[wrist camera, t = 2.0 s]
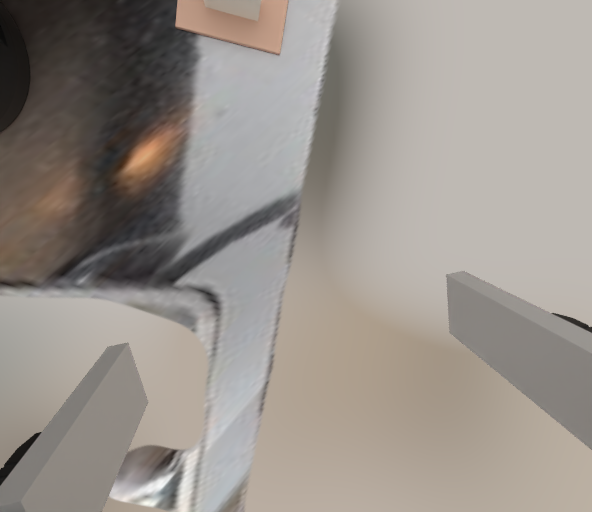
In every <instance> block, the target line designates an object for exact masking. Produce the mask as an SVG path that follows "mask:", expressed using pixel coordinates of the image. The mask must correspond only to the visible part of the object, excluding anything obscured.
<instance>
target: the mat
mask: <svg viewBox="0 0 592 512" xmlns="http://www.w3.org/2000/svg"><path fill="white" fill-rule="evenodd" d="M287 5H288V0H261V6H260V12H259V19H258V21H254V20H250V19H247V18H243V17H240V16H236V15H232V14H229V13H225V12H221V11H218V10H214V9H210V8H207V7H205V4H204V0H178V3H177V14H176V25H175V26H176V28H177V29H181V30H185V31H189V32H193V33H196V34H200V35H204V36H208V37H212V38H216V39H220V40H223V41H227V42H231V43H235V44H239V45H243V46H247V47H251V48H254V49H258V50H262V51H266V52H270V53H274V54H278V55H279V54H280V49H281V43H282V37H283V30H284V24H285V18H286V11H287Z"/></svg>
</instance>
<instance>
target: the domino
mask: <svg viewBox="0 0 592 512" xmlns="http://www.w3.org/2000/svg"><path fill="white" fill-rule="evenodd" d="M204 4H205V7H207V8H210V9H214V10H218V11H221V12H225V13H229V14H232V15H236V16H240V17H243V18H247V19H250V20H254V21H258V19H259V12H260V6H261V0H204Z"/></svg>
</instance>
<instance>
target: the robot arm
mask: <svg viewBox="0 0 592 512" xmlns="http://www.w3.org/2000/svg"><path fill="white" fill-rule="evenodd" d="M29 79H30V70H29V61H28V55H27V51H26V48H25V44H24V41H23V39H22V36H21V34H20V32H19V29H18V28H17V26H16V24H15V22H14V20H13V19H12V17H11V15H10V14H9V12H8V11H7V10H6V8H5V7H4V6H3V4H2V3H1V2H0V132H1V131H2V130H4V129H5V128H6V127H7V126H8V125H9V124H10V123H12V121H13V120H14V119H15V118H16V117H17V115H18V114H19V112H20V110H21V109H22V107H23V105H24V102H25V100H26V97H27V93H28V88H29ZM446 277H447V295H448V313H449V330H450V331H449V332H450V334H452V335H453V336H454V337H455V338H456V339H458V340H459V341H460V342H461V343H462V344H464V345H465V346H466V347H467V348H469V349H470V350H471V351H472V352H473V353H475V354H476V355H477V356H478V357H479V358H481V359H482V360H483V361H484V362H486V363H487V364H488V365H489V366H490V367H492V368H493V369H494V370H495V371H496V372H498V373H499V374H500V375H501V376H503V377H504V378H505V379H506V380H508V381H509V382H510V383H511V384H512V385H513V386H515V387H516V388H517V389H518V390H520V391H521V392H522V393H523V394H524V395H526V396H527V397H528V398H529V399H531V400H532V401H533V402H534V403H535V404H536V405H538V406H539V407H540V408H541V409H543V410H544V411H545V412H546V413H548V414H549V415H550V416H551V417H552V418H554V419H555V420H556V421H557V422H558V423H560V424H561V425H562V426H564V428H566V429H567V430H568V431H569V432H571V433H572V434H573V435H574V436H575V437H577V438H578V439H579V440H580V441H581V442H583V443H584V444H585V445H587V446H588V447H589V448H590V449H591V450H592V327H589V326H588V325H586V324H584V323H582V322H580V321H578V320H576V319H573V318H570V317H567V316H563V315H559V314H555V313H549V312H547V311H545V310H543V309H541V308H539V307H537V306H535V305H533V304H531V303H529V302H527V301H524V300H522V299H520V298H518V297H516V296H514V295H512V294H510V293H508V292H506V291H504V290H502V289H500V288H498V287H496V286H494V285H492V284H490V283H487V282H485V281H483V280H481V279H479V278H477V277H475V276H473V275H471V274H469V273H467V272H465V271H461V272H456V273H452V274H447V275H446ZM147 404H148V400H147V397H146V394H145V391H144V388H143V385H142V382H141V379H140V376H139V373H138V371H137V367H136V364H135V362H134V359H133V356H132V353H131V350H130V347H129V344H128V343H124V344H120V345H115V346H110V347H107V349H106V350H105V352H104V353H103V354H102V355H101V357H100V358H99V359H98V361H97V362H96V363H95V364H94V366H93V367H92V368H91V369H90V371H89V372H88V373H87V375H86V376H85V377H84V378H83V380H82V381H81V383H80V384H79V385H78V386H77V388H76V389H75V390H74V392H73V393H72V394H71V395H70V397H69V398H68V399H67V400H66V402H65V403H64V404H63V406H62V407H61V408H60V410H59V411H58V412H57V413H56V415H55V416H54V417H53V419H52V420H51V421H50V422H49V424H48V425H47V426H46V428H45V429H44V430H43V431H42V432H40V433H36V434H34V435H33V436H32V437H31V438H30V439H29V440H27V441H26V442H25V443H24V444H22V445H21V446H20V447H19V448H18V449H17V450H16V451H15V453H13V455H12V456H11V457H10V458H9V460H8V461H7V462H6V463H5V465H4V468H1V469H0V512H102V510H103V508H104V506H105V503H106V501H107V498H108V496H109V494H110V491H111V489H112V487H113V484H114V482H115V480H116V477H117V475H118V472H119V470H120V468H121V465H122V463H123V461H124V458H125V456H126V453H127V451H128V449H129V446H130V444H131V442H132V439H133V437H134V434H135V432H136V430H137V427H138V425H139V423H140V420H141V418H142V416H143V413H144V411H145V408H146V406H147Z"/></svg>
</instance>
